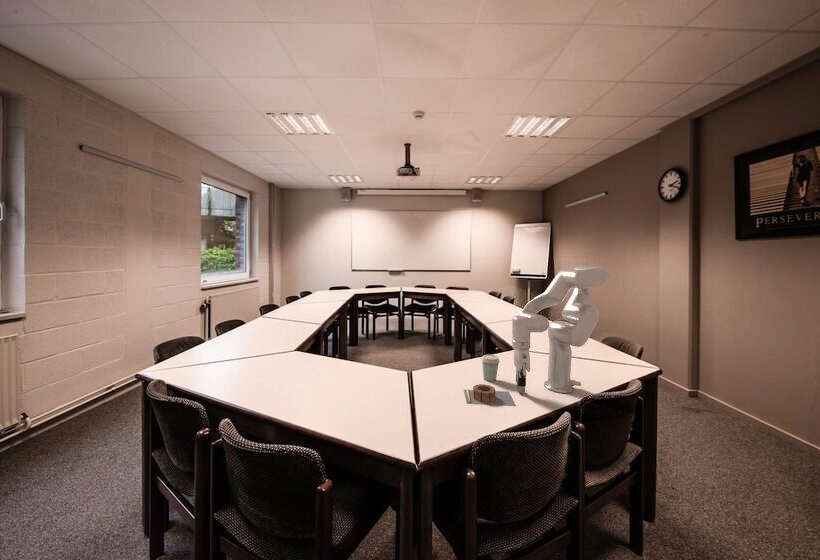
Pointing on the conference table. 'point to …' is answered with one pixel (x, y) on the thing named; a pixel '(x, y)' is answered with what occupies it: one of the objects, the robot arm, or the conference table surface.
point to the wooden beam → (520, 388)
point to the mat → (500, 399)
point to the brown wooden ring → (484, 393)
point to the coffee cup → (490, 367)
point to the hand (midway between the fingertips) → (520, 384)
